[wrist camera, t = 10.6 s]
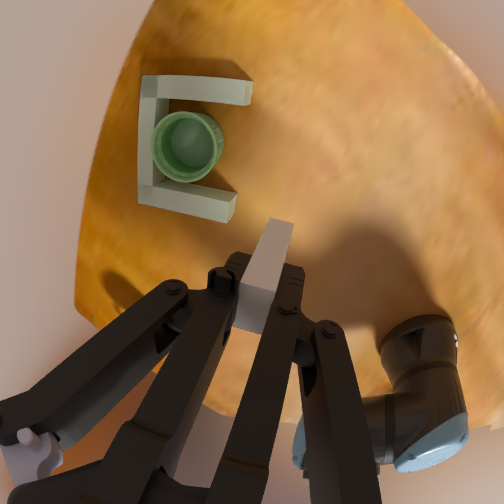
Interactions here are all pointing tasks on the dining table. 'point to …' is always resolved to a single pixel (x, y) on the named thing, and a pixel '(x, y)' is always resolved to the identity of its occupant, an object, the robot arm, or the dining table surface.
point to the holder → (150, 114)
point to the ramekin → (186, 145)
